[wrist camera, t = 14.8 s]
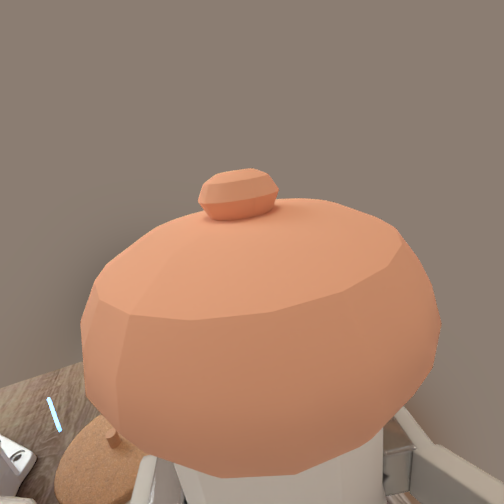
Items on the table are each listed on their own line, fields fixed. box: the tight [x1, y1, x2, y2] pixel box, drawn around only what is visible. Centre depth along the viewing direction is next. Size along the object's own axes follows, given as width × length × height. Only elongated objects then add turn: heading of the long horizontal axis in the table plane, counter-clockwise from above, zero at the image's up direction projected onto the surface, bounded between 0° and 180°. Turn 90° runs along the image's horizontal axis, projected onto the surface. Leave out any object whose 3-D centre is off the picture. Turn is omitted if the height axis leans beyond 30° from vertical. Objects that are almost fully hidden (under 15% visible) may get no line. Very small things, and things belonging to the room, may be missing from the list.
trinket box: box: [54, 414, 150, 504], centre depth 28 cm, size 11×11×9 cm
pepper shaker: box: [80, 168, 441, 504], centre depth 8 cm, size 7×7×19 cm
